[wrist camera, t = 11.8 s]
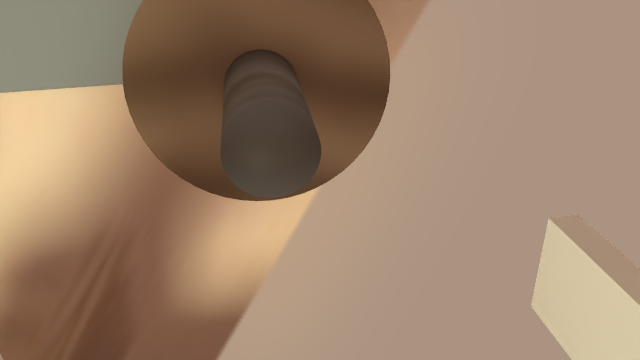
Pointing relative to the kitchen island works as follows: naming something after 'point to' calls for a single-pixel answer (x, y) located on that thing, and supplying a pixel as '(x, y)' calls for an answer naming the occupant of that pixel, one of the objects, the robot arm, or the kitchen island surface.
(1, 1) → the slate mat
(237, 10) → the wooden lid with knob
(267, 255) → the kitchen island surface
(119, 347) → the kitchen island surface
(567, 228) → the robot arm
